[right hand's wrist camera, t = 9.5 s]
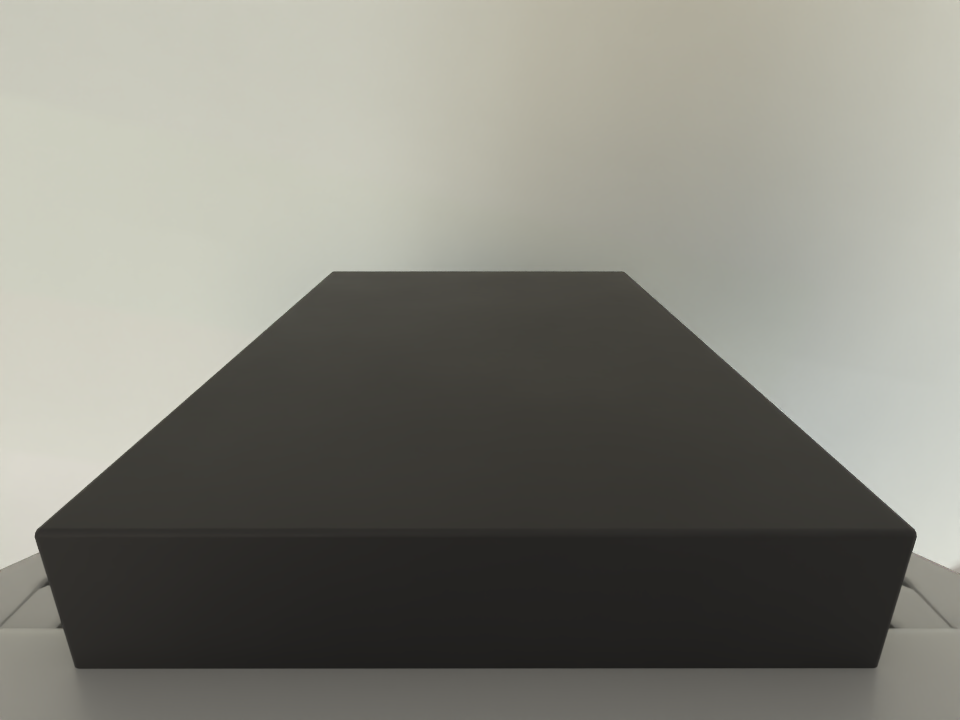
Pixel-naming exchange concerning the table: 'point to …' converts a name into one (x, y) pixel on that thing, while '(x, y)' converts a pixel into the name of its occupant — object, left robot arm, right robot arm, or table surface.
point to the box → (476, 499)
